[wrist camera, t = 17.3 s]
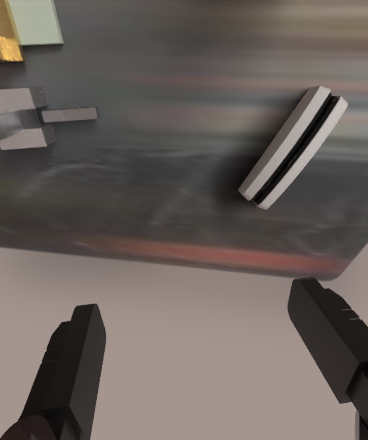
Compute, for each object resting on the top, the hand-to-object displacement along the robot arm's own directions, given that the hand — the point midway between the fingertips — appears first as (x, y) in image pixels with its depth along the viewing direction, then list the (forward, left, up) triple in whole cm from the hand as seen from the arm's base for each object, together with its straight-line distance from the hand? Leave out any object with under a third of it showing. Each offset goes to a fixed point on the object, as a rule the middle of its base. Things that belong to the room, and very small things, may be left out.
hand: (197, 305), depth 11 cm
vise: (-5, -13, -28) cm, 31 cm away
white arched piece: (+1, +16, -28) cm, 33 cm away
